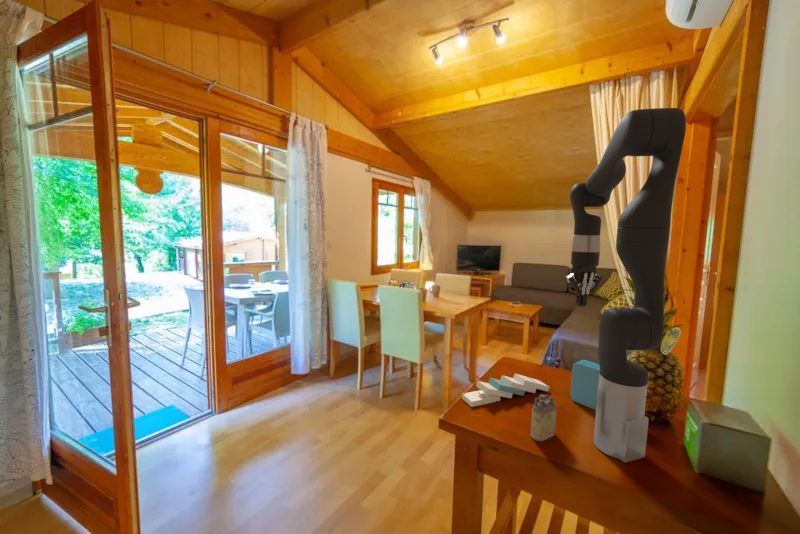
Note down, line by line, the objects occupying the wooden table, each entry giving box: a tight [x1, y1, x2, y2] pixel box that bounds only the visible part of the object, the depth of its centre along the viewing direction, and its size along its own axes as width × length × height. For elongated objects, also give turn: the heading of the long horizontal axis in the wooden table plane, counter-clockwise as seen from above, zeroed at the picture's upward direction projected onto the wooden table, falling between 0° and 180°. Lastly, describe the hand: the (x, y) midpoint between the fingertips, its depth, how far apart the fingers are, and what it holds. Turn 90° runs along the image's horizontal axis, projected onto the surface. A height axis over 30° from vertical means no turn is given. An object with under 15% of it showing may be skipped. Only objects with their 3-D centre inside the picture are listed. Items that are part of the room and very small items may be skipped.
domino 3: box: [487, 377, 526, 397], centre depth 103 cm, size 2×5×10 cm
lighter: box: [530, 393, 558, 442], centre depth 83 cm, size 7×4×10 cm, turn 120°
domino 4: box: [499, 375, 537, 394], centre depth 105 cm, size 2×5×10 cm
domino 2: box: [475, 380, 514, 399], centre depth 102 cm, size 2×5×10 cm
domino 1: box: [461, 389, 501, 408], centre depth 101 cm, size 2×5×10 cm
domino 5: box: [512, 373, 550, 392], centre depth 106 cm, size 2×5×10 cm
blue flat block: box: [570, 359, 600, 411], centre depth 97 cm, size 12×4×12 cm, turn 38°
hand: (581, 305), depth 105 cm, fingers closed
